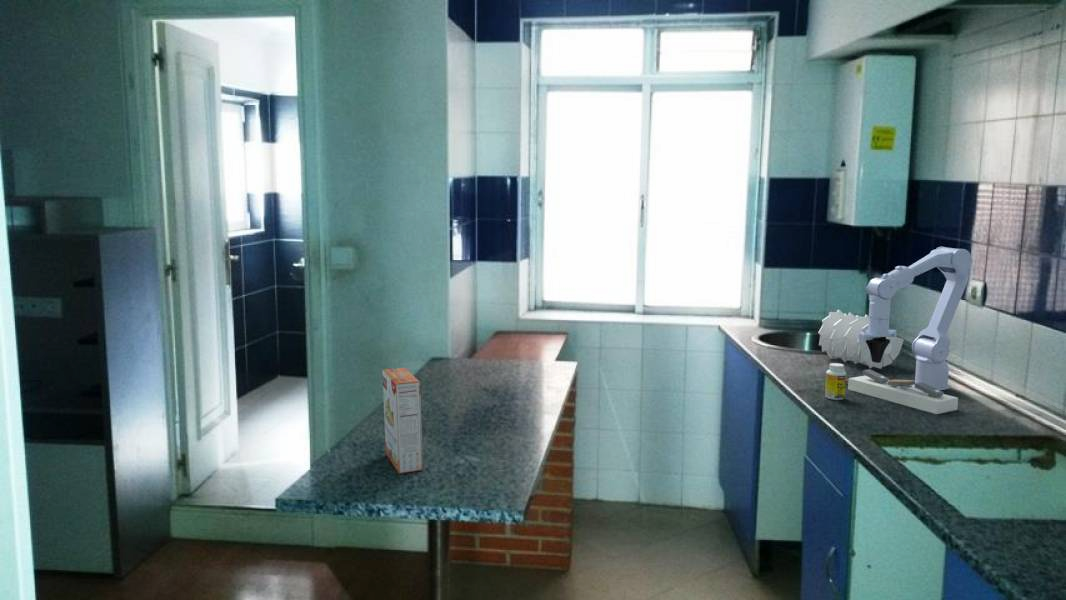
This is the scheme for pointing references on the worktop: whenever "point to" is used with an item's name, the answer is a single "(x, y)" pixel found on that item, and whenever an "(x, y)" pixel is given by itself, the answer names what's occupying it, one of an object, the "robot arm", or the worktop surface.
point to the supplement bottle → (835, 382)
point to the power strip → (903, 395)
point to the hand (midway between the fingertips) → (876, 362)
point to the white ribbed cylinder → (853, 340)
